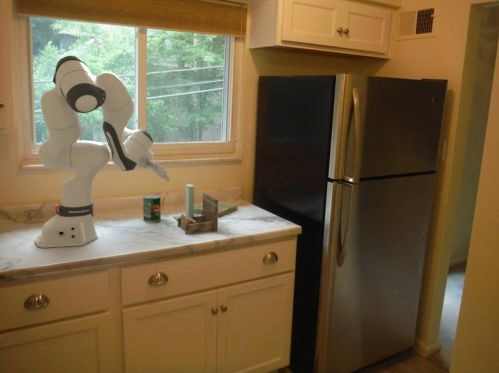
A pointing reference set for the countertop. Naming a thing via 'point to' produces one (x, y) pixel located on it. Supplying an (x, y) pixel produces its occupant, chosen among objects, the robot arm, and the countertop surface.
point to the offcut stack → (186, 221)
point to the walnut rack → (204, 217)
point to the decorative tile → (222, 208)
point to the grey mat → (180, 217)
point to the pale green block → (189, 200)
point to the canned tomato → (151, 208)
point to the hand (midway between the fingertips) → (165, 178)
